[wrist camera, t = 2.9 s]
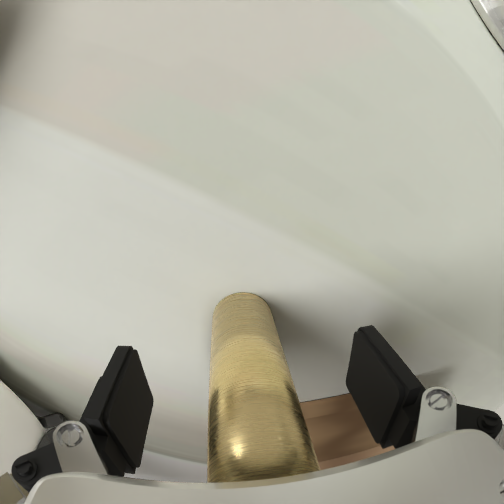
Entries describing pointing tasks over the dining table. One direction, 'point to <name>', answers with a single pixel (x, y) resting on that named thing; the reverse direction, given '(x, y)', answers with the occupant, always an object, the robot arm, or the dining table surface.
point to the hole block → (339, 432)
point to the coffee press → (21, 428)
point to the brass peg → (252, 398)
